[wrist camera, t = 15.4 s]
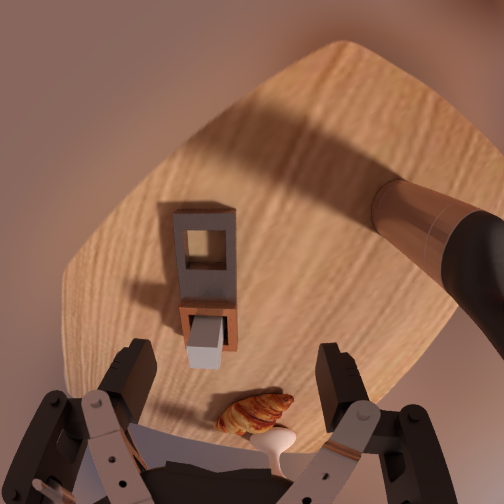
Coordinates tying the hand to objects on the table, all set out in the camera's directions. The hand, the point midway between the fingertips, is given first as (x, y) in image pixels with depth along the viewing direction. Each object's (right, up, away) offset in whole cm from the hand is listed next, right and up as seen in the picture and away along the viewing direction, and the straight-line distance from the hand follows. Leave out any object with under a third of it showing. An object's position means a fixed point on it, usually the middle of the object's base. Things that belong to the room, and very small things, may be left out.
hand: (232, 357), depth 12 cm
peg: (-5, -5, +31) cm, 31 cm away
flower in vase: (+6, -39, +45) cm, 60 cm away
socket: (-5, 0, +28) cm, 29 cm away
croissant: (0, -28, +40) cm, 49 cm away
